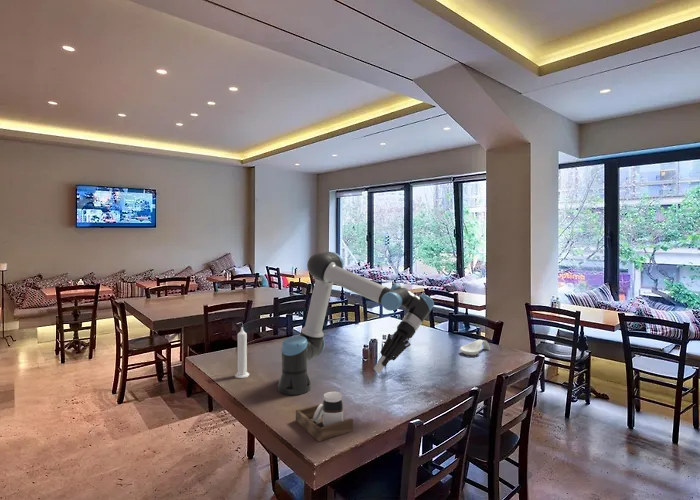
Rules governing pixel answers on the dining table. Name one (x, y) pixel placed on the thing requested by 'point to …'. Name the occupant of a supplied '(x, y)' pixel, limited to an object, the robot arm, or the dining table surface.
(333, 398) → the spread jar
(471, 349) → the spoon rest
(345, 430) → the walnut bay
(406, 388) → the dining table surface
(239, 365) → the candle
